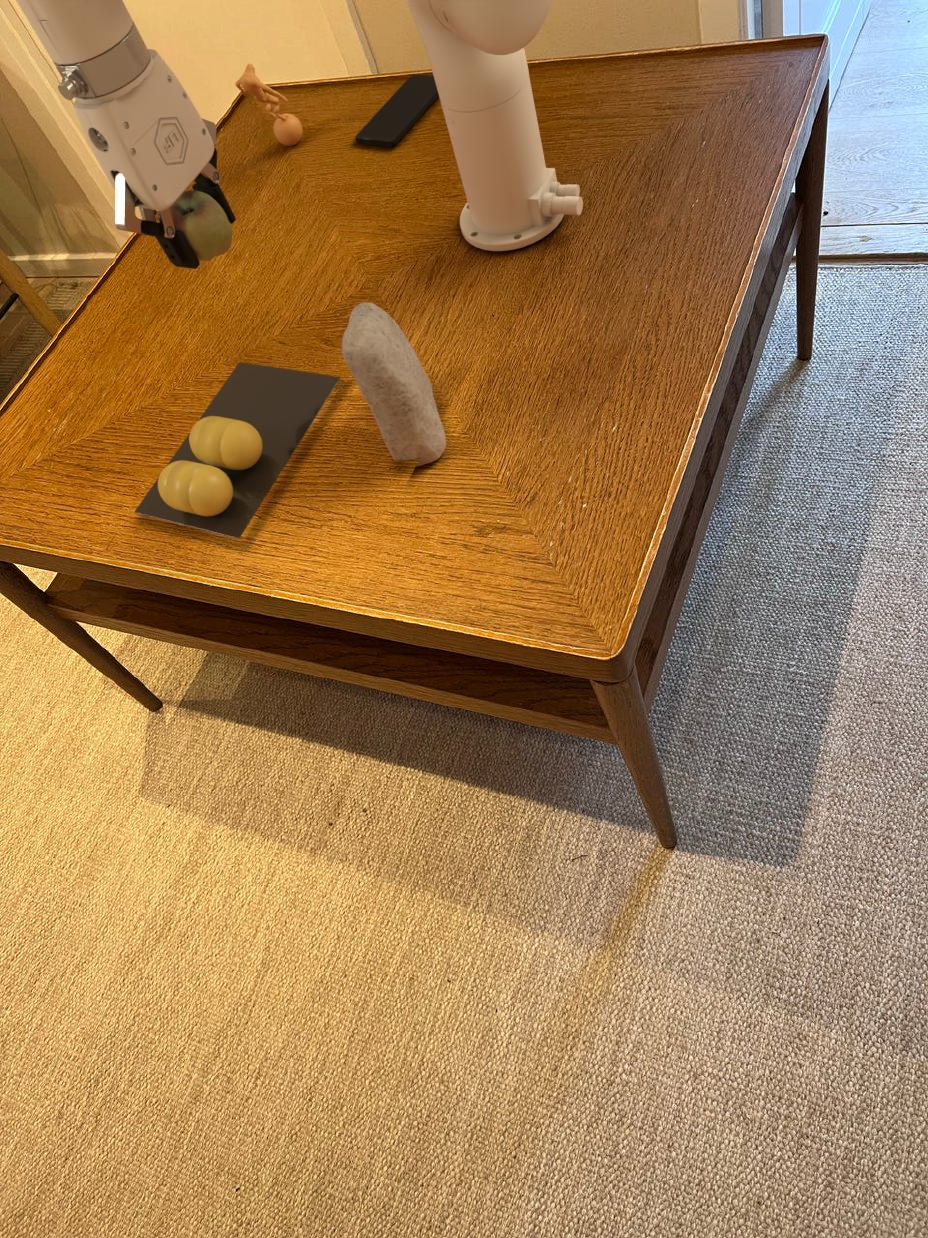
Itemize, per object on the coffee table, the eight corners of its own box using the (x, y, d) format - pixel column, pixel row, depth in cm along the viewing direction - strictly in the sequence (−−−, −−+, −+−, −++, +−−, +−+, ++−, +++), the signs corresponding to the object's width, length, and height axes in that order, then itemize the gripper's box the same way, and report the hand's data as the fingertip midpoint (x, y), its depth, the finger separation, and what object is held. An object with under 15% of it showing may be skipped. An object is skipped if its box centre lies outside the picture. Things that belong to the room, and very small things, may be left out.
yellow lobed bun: (279, 447, 94) (258, 413, 90) (255, 484, 92) (232, 451, 88) (219, 435, 97) (196, 402, 93) (195, 471, 95) (171, 438, 91)
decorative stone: (387, 398, 96) (336, 283, 84) (441, 384, 95) (398, 265, 83) (391, 475, 90) (337, 363, 78) (449, 461, 89) (404, 345, 77)
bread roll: (250, 491, 92) (227, 459, 87) (225, 530, 90) (201, 499, 85) (190, 478, 95) (165, 446, 91) (164, 515, 93) (138, 484, 89)
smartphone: (352, 137, 123) (411, 73, 128) (354, 143, 124) (413, 79, 129) (392, 142, 120) (451, 76, 125) (394, 148, 121) (452, 82, 126)
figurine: (323, 138, 127) (288, 49, 117) (297, 164, 125) (259, 77, 115) (281, 130, 131) (245, 44, 121) (255, 156, 129) (216, 70, 119)
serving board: (345, 386, 99) (341, 376, 97) (245, 547, 90) (238, 538, 89) (245, 371, 104) (239, 361, 103) (141, 520, 96) (133, 512, 94)
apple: (202, 224, 95) (174, 172, 91) (255, 238, 92) (228, 185, 87) (165, 261, 93) (134, 210, 89) (217, 276, 90) (188, 224, 85)
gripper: (75, 124, 72) (187, 305, 87) (192, 4, 79) (278, 191, 94) (12, 122, 75) (131, 297, 90) (130, 6, 82) (222, 187, 97)
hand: (205, 241), depth 92 cm, fingers closed on apple, 6 cm apart
